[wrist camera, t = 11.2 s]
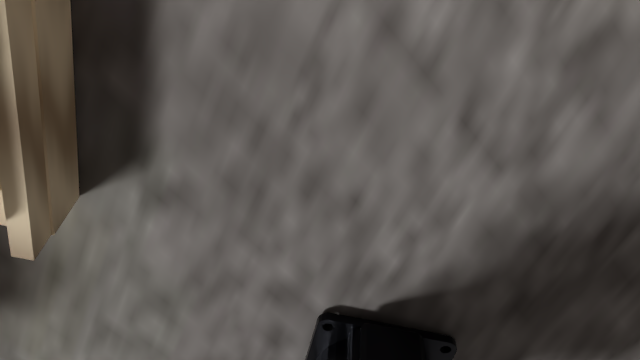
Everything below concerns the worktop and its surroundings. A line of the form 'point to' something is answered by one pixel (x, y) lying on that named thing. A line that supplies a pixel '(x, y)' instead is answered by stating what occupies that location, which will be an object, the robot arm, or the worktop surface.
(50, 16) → the trough rack
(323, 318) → the robot arm
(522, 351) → the worktop surface
